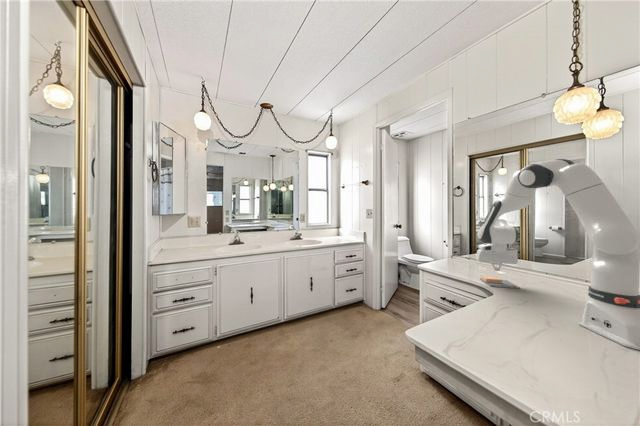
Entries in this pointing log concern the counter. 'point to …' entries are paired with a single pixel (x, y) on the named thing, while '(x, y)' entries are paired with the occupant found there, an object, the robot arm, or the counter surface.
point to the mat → (502, 284)
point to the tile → (491, 279)
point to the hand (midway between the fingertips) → (496, 270)
